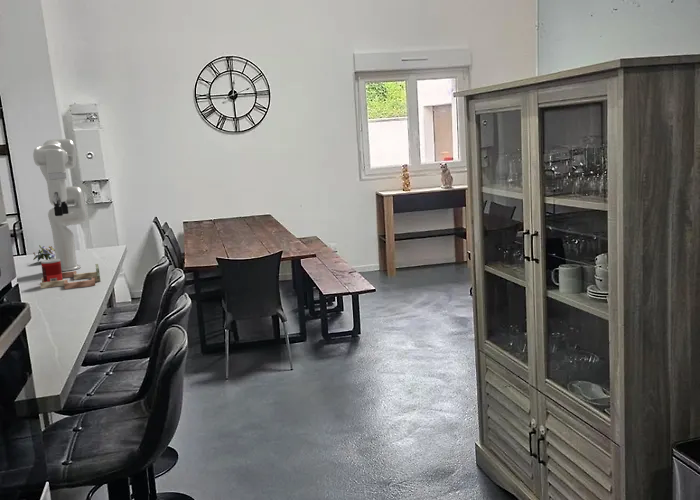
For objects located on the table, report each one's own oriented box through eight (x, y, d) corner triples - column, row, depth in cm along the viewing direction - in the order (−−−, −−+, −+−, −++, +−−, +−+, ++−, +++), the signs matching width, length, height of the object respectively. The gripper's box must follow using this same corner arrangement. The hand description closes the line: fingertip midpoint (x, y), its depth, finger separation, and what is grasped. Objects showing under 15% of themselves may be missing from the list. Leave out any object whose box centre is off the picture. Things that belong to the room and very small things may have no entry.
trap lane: (39, 292, 276) (38, 278, 275) (43, 279, 303) (41, 267, 302) (101, 284, 285) (99, 271, 284) (99, 273, 312) (97, 261, 311)
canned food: (67, 282, 294) (64, 258, 292) (53, 286, 286) (50, 262, 284) (53, 282, 296) (50, 258, 294) (40, 286, 289) (37, 262, 287)
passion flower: (54, 271, 352) (56, 255, 345) (31, 270, 347) (33, 254, 340) (54, 257, 360) (56, 241, 353) (32, 256, 355) (34, 240, 348)
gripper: (53, 176, 297) (58, 213, 300) (42, 178, 280) (47, 217, 283) (70, 175, 298) (75, 212, 301) (60, 176, 282) (65, 215, 284)
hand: (61, 214), depth 292 cm, fingers open, 9 cm apart
